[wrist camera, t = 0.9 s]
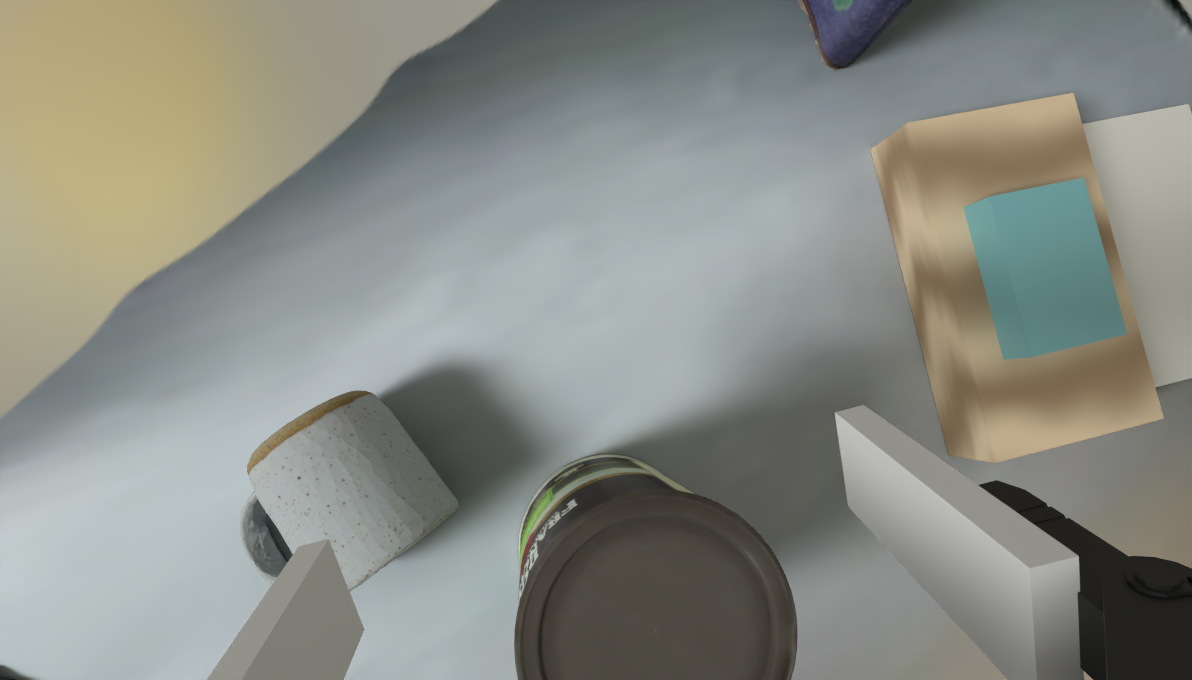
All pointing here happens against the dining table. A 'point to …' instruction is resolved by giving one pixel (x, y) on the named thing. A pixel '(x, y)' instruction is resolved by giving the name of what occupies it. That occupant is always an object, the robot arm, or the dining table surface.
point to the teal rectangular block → (1044, 269)
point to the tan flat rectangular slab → (957, 295)
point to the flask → (848, 26)
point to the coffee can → (645, 583)
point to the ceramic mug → (342, 489)
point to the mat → (1152, 226)
